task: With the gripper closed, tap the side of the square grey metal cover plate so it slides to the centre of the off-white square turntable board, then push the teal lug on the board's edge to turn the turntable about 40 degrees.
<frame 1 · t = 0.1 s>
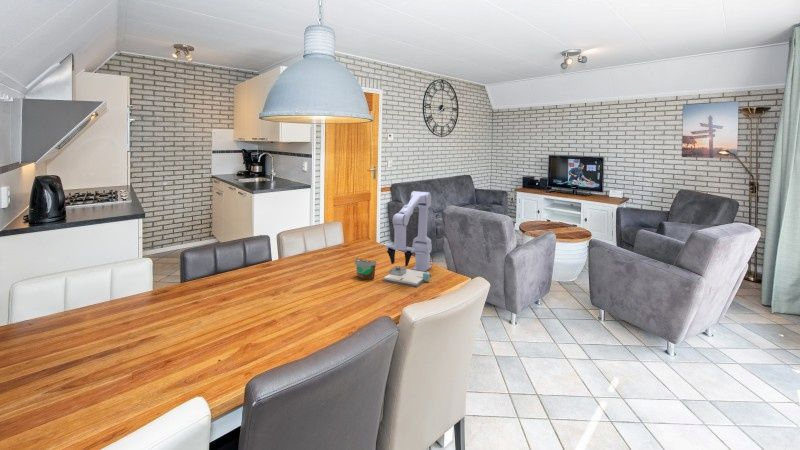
hand: (399, 264, 203), 10 cm above the table, tool pointing down, fingers open, 7 cm apart
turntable: (410, 274, 211), point 3 cm above the table, hinge at 0.0°, touching cover
susan base: (407, 278, 212), on the table
cover: (397, 273, 214), point 2 cm above the table, touching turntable
food container: (363, 279, 211), on the table
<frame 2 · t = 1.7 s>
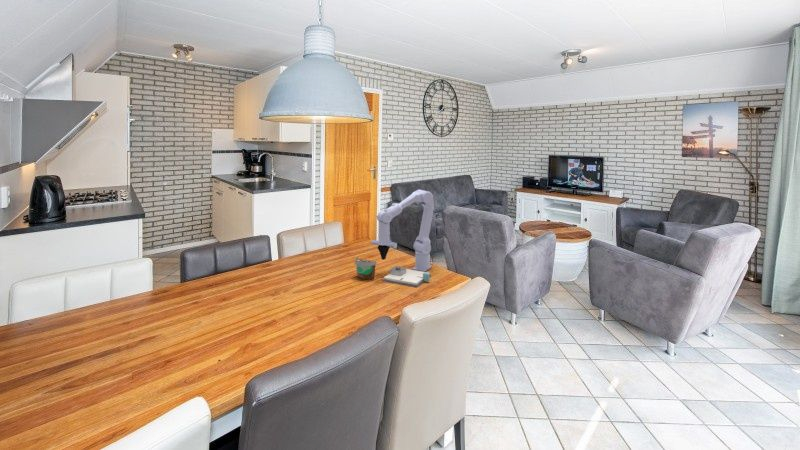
hand: (383, 259, 216), 9 cm above the table, tool pointing down, fingers closed
nothing on the table moved.
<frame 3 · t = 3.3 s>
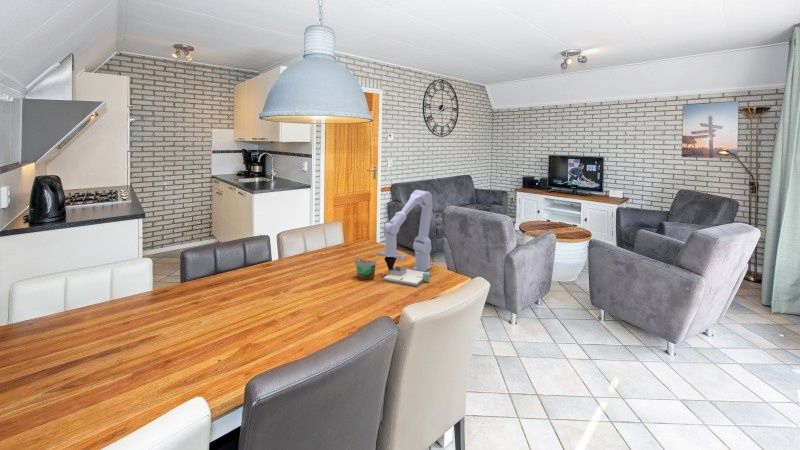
hand: (390, 270, 216), 3 cm above the table, tool pointing down, fingers closed
cover: (397, 273, 214), point 2 cm above the table, touching gripper, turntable
everything else where it was.
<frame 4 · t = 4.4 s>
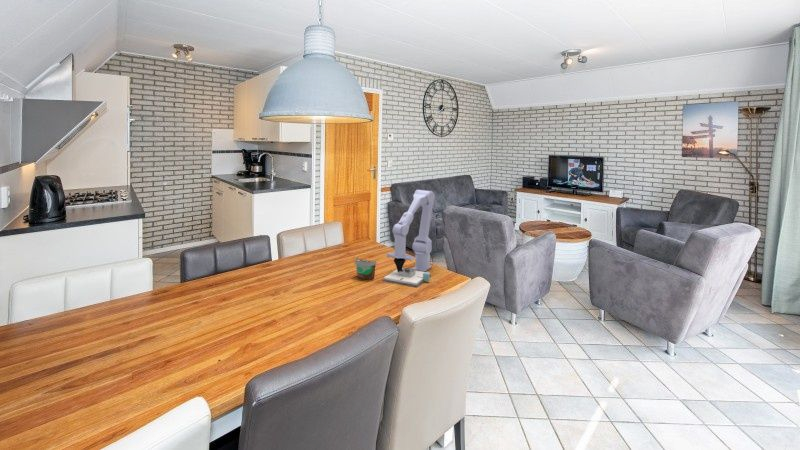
hand: (399, 272, 214), 3 cm above the table, tool pointing down, fingers closed
cover: (407, 274, 212), point 2 cm above the table, touching gripper, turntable
everything else where it was.
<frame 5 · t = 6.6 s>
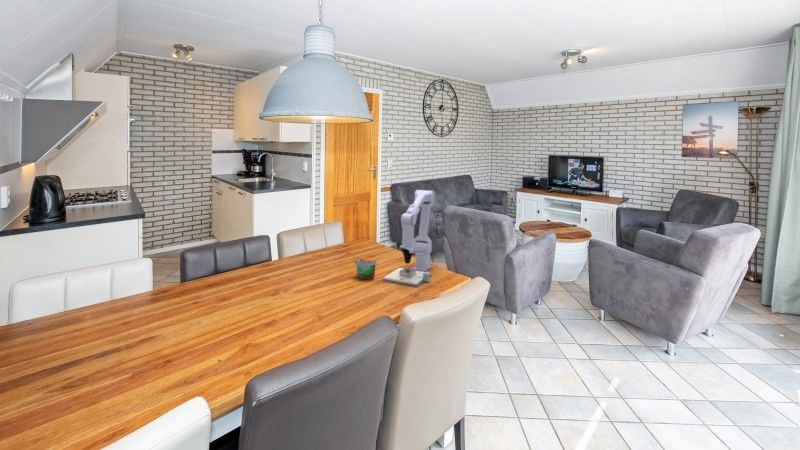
hand: (407, 263, 207), 9 cm above the table, tool pointing down, fingers closed
cover: (407, 275, 212), point 2 cm above the table, touching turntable
everything else where it was.
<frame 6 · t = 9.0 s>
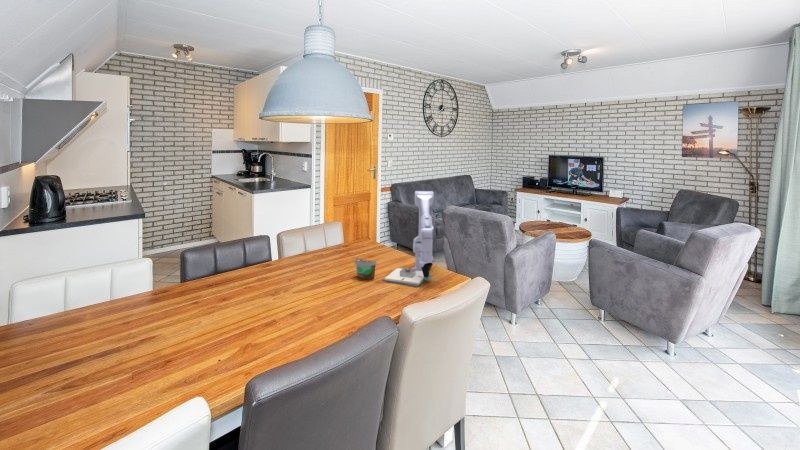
hand: (425, 276, 207), 3 cm above the table, tool pointing down, fingers closed
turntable: (410, 274, 211), point 3 cm above the table, hinge at 5.8°, touching cover, gripper
everything else where it was.
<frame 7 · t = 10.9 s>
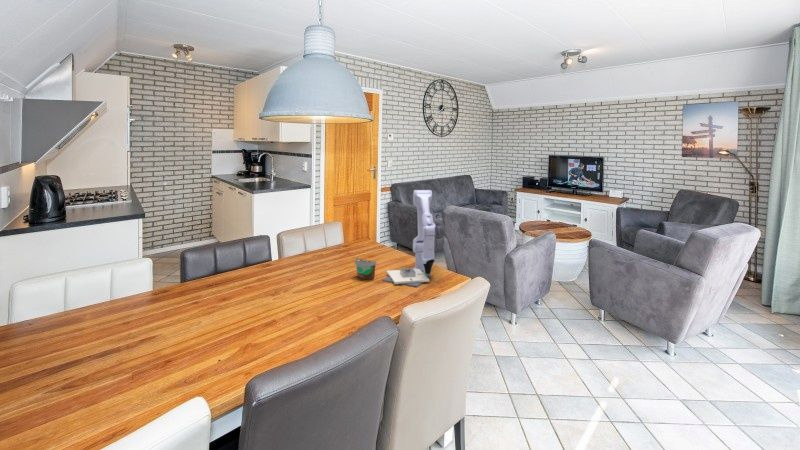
hand: (427, 273, 212), 3 cm above the table, tool pointing down, fingers closed
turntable: (410, 273, 212), point 3 cm above the table, hinge at 40.1°, touching cover, gripper
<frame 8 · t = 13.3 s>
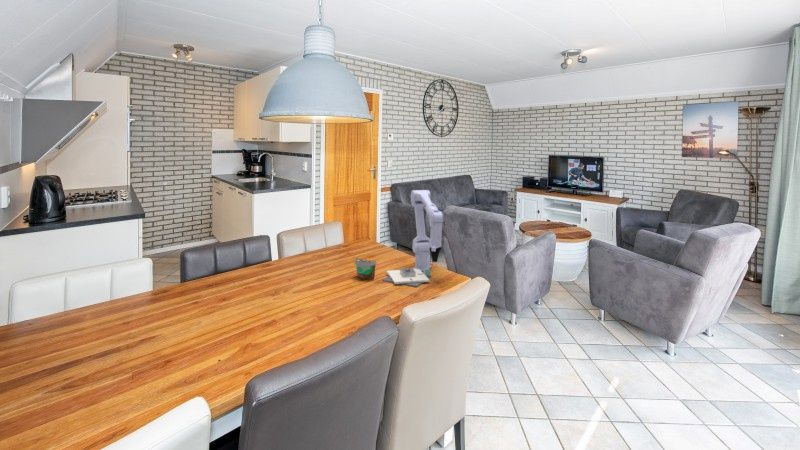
hand: (434, 261, 209), 10 cm above the table, tool pointing down, fingers closed
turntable: (410, 273, 212), point 3 cm above the table, hinge at 40.1°, touching cover
everything else where it was.
at the end: cover 0.1 cm off-centre on the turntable, point 2.0 cm above the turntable's base; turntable at +40° (first picture: +0°) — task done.
